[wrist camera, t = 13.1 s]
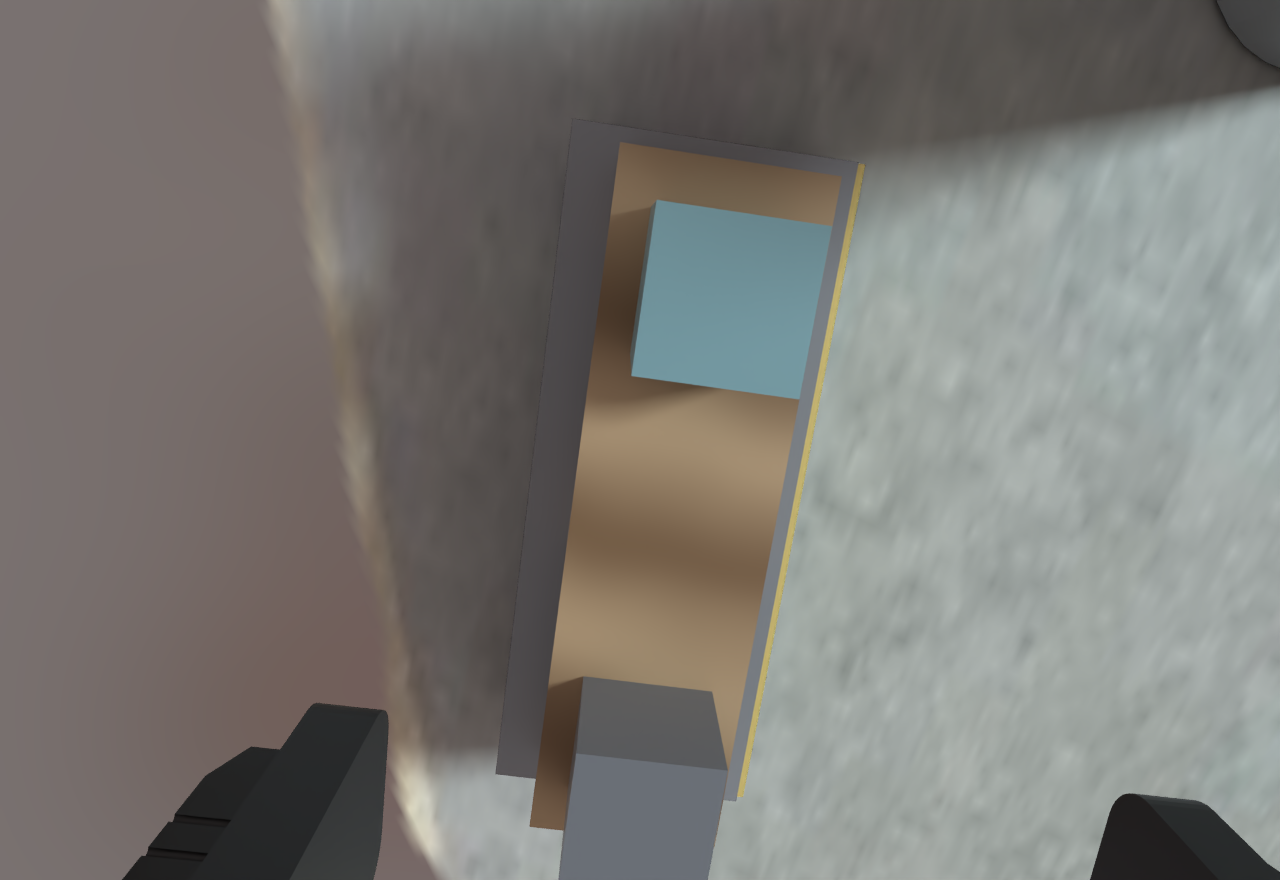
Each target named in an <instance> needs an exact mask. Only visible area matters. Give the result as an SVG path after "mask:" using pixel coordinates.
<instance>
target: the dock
mask: <svg viewBox="0 0 1280 880" xmlns="http://www.w3.org/2000/svg"><path fill="white" fill-rule="evenodd" d="M620 142H623V143H629V144H636V145H642V146H649V147H655V148H662V149H668V150H675V151H681V152H688V153H694V154H700V155H707V156H713V157H720V158H726V159H733V160H739V161H746V162H752V163H759V164H765V165H772V166H778V167H784V168H791V169H797V170H804V171H810V172H817V173H823V174H830V175H836V176H842V179H841V184H840V189H839V195H838V200H837V205H836V210H835V216H834V221H833V226H832V231H831V237H830V242H829V247H828V252H827V258H826V263H825V268H824V273H823V279H822V284H821V289H820V294H819V300H818V305H817V310H816V315H815V321H814V326H813V331H812V336H811V342H810V347H809V352H808V357H807V363H806V368H805V373H804V378H803V384H802V389H801V394H800V399H799V405H798V410H797V415H796V421H795V426H794V431H793V436H792V442H791V447H790V452H789V457H788V463H787V468H786V473H785V478H784V484H783V489H782V494H781V499H780V505H779V510H778V515H777V520H776V526H775V531H774V536H773V541H772V547H771V552H770V557H769V562H768V568H767V573H766V578H765V583H764V589H763V594H762V599H761V604H760V610H759V615H758V620H757V625H756V631H755V636H754V641H753V646H752V652H751V657H750V662H749V667H748V673H747V678H746V683H745V688H744V694H743V699H742V704H741V709H740V715H739V720H738V725H737V730H736V736H735V741H734V746H733V751H732V757H731V762H730V767H729V772H728V778H727V783H726V788H725V793H724V799H723V800H729V801H736V799H737V796H738V797H743V794H744V789H745V783H746V778H747V773H748V768H749V763H750V758H751V752H752V747H753V742H754V737H755V732H756V727H757V721H758V716H759V711H760V706H761V701H762V696H763V690H764V685H765V680H766V675H767V670H768V665H769V659H770V654H771V649H772V644H773V639H774V634H775V629H776V623H777V618H778V613H779V608H780V603H781V598H782V592H783V587H784V582H785V577H786V572H787V567H788V561H789V556H790V551H791V546H792V541H793V536H794V530H795V525H796V520H797V515H798V510H799V505H800V499H801V494H802V489H803V484H804V479H805V474H806V469H807V463H808V458H809V453H810V448H811V443H812V438H813V432H814V427H815V422H816V417H817V412H818V407H819V401H820V396H821V391H822V386H823V381H824V376H825V370H826V365H827V360H828V355H829V350H830V345H831V339H832V334H833V329H834V324H835V319H836V314H837V309H838V303H839V298H840V293H841V288H842V283H843V278H844V272H845V267H846V262H847V257H848V252H849V247H850V241H851V236H852V231H853V226H854V221H855V216H856V210H857V205H858V200H859V195H860V190H861V185H862V179H863V174H864V169H865V165H864V164H858V163H859V162H853V161H847V160H840V159H834V158H827V157H821V156H814V155H808V154H801V153H795V152H788V151H782V150H775V149H769V148H762V147H756V146H749V145H743V144H736V143H729V142H723V141H716V140H710V139H703V138H697V137H690V136H684V135H677V134H671V133H664V132H658V131H651V130H645V129H638V128H632V127H625V126H619V125H612V124H606V123H599V122H593V121H586V120H580V119H572V128H571V136H570V145H569V153H568V162H567V170H566V179H565V187H564V196H563V204H562V213H561V221H560V230H559V238H558V247H557V255H556V264H555V272H554V281H553V289H552V298H551V306H550V315H549V324H548V332H547V341H546V349H545V358H544V366H543V375H542V383H541V392H540V400H539V409H538V417H537V426H536V434H535V443H534V451H533V460H532V468H531V477H530V485H529V494H528V502H527V511H526V519H525V528H524V536H523V545H522V553H521V562H520V570H519V579H518V587H517V596H516V604H515V613H514V621H513V630H512V638H511V647H510V656H509V664H508V673H507V681H506V690H505V698H504V707H503V715H502V724H501V732H500V741H499V749H498V758H497V766H496V774H499V775H508V776H517V777H525V778H534V779H536V774H537V767H538V759H539V751H540V744H541V736H542V729H543V721H544V714H545V706H546V699H547V691H548V683H549V676H550V668H551V661H552V653H553V646H554V638H555V631H556V623H557V615H558V608H559V600H560V593H561V585H562V578H563V570H564V563H565V555H566V547H567V540H568V532H569V525H570V517H571V510H572V502H573V495H574V487H575V479H576V472H577V464H578V457H579V449H580V442H581V434H582V427H583V419H584V411H585V404H586V396H587V389H588V381H589V374H590V366H591V359H592V351H593V344H594V336H595V328H596V321H597V313H598V306H599V298H600V291H601V283H602V276H603V268H604V260H605V253H606V245H607V238H608V230H609V223H610V215H611V208H612V200H613V192H614V185H615V177H616V170H617V162H618V155H619V147H620Z"/></svg>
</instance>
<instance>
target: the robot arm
mask: <svg viewBox="0 0 1280 880" xmlns="http://www.w3.org/2000/svg"><path fill="white" fill-rule="evenodd" d="M1217 2H1218V4H1219V7H1220V9H1221V11H1222V13H1223V15H1224V17H1225V19H1226V22H1227V24H1228V26H1229V27H1230V28H1231V30H1232V31H1233V32H1234V33H1235V35H1236V36H1237V37H1238V38H1239V40H1240V41H1241V42H1242V43H1243V45H1244V46H1245V47H1246V48H1248V49H1249V50H1250V51H1252V52H1253V53H1254V54H1256V55H1257V56H1258V57H1259V58H1261V59H1262V60H1263V61H1265V62H1267V63H1269V64H1272V65H1274V66H1276V67H1279V68H1280V0H1217ZM387 745H388V715H387V712H386V711H385V710H377V709H368V708H358V707H349V706H340V705H331V704H322V703H315V704H313V705H312V706H311V707H310V708H309V709H308V710H307V712H306V714H305V715H304V716H303V718H302V719H301V721H300V722H299V723H298V725H297V726H296V728H295V729H294V731H293V732H292V734H291V735H290V736H289V738H288V739H287V741H286V742H285V744H284V745H283V746H282V748H281V749H280V750H277V749H268V748H259V747H250V748H248V749H247V750H245V751H244V752H242V753H240V754H239V755H237V756H236V757H234V758H233V759H231V760H230V761H228V762H226V763H225V764H223V765H222V766H220V767H219V768H217V769H215V770H214V771H212V772H211V773H209V774H208V775H206V776H205V777H204V778H203V780H202V781H201V782H200V783H199V784H198V786H197V787H196V788H195V790H194V791H193V792H192V793H191V795H190V796H189V797H188V798H187V799H186V801H185V802H184V803H183V804H182V806H181V807H180V808H179V809H178V811H177V812H176V813H175V817H174V820H173V822H168V823H167V825H166V826H165V827H164V828H163V829H162V831H161V832H160V833H159V834H158V836H157V837H156V838H155V840H154V841H153V842H152V843H151V845H150V846H149V847H148V852H147V854H146V856H141V857H140V858H139V859H138V861H137V862H136V863H135V864H134V866H133V867H132V868H131V869H130V871H129V872H128V873H127V875H126V876H125V877H124V878H123V879H122V880H373V879H374V875H375V871H376V866H377V861H378V857H379V851H380V843H381V835H382V821H383V806H384V791H385V775H386V760H387ZM1090 880H1280V872H1279V871H1278V870H1276V869H1275V868H1273V867H1272V866H1270V865H1269V864H1267V863H1266V862H1265V861H1264V860H1263V859H1262V858H1261V857H1260V856H1259V855H1258V854H1257V853H1256V852H1255V851H1254V850H1253V849H1252V848H1251V847H1250V846H1249V845H1248V844H1247V843H1246V842H1245V841H1244V840H1243V839H1242V838H1241V837H1240V836H1239V835H1238V834H1237V833H1236V832H1235V831H1234V830H1233V829H1232V828H1231V827H1230V826H1229V825H1228V824H1227V823H1226V822H1225V821H1224V820H1222V819H1221V818H1220V817H1219V816H1218V815H1217V814H1216V813H1215V812H1214V811H1213V810H1212V809H1211V808H1210V807H1209V806H1207V805H1205V804H1204V803H1202V802H1199V801H1196V800H1187V799H1177V798H1168V797H1159V796H1150V795H1140V794H1124V795H1122V796H1120V797H1119V798H1118V799H1117V800H1116V801H1115V803H1114V804H1113V806H1112V808H1111V811H1110V813H1109V817H1108V820H1107V824H1106V827H1105V831H1104V834H1103V837H1102V841H1101V844H1100V848H1099V851H1098V855H1097V858H1096V861H1095V865H1094V868H1093V872H1092V875H1091V879H1090Z"/></svg>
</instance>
